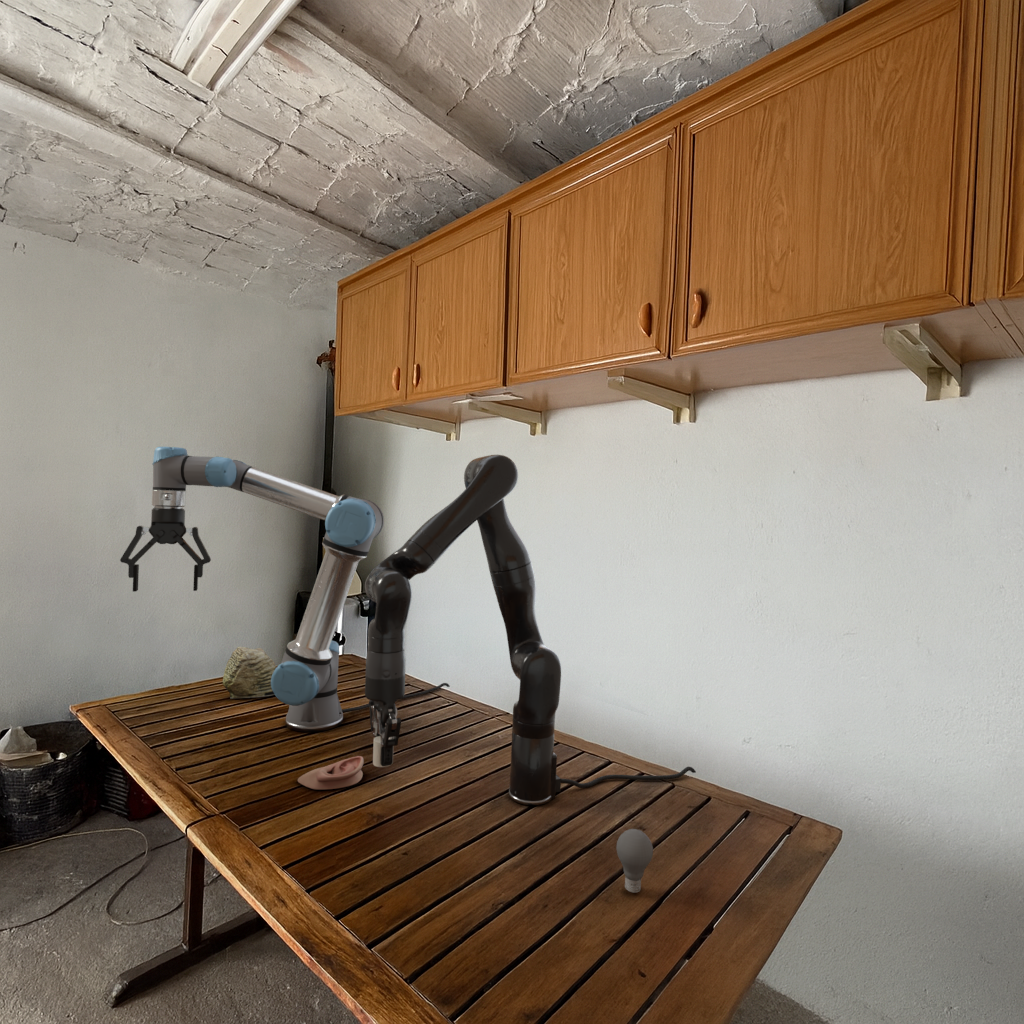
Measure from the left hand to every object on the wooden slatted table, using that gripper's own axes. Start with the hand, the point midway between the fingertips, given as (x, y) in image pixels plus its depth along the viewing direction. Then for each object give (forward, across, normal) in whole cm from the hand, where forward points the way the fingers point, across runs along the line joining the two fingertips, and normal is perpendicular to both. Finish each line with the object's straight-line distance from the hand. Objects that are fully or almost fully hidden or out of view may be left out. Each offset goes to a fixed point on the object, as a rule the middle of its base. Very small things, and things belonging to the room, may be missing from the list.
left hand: (165, 590), depth 162 cm
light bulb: (+37, +81, -94) cm, 130 cm away
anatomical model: (+37, +38, -38) cm, 66 cm away
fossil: (+37, +22, +29) cm, 52 cm away
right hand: (+24, +45, -62) cm, 80 cm away
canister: (+25, +45, -62) cm, 80 cm away
